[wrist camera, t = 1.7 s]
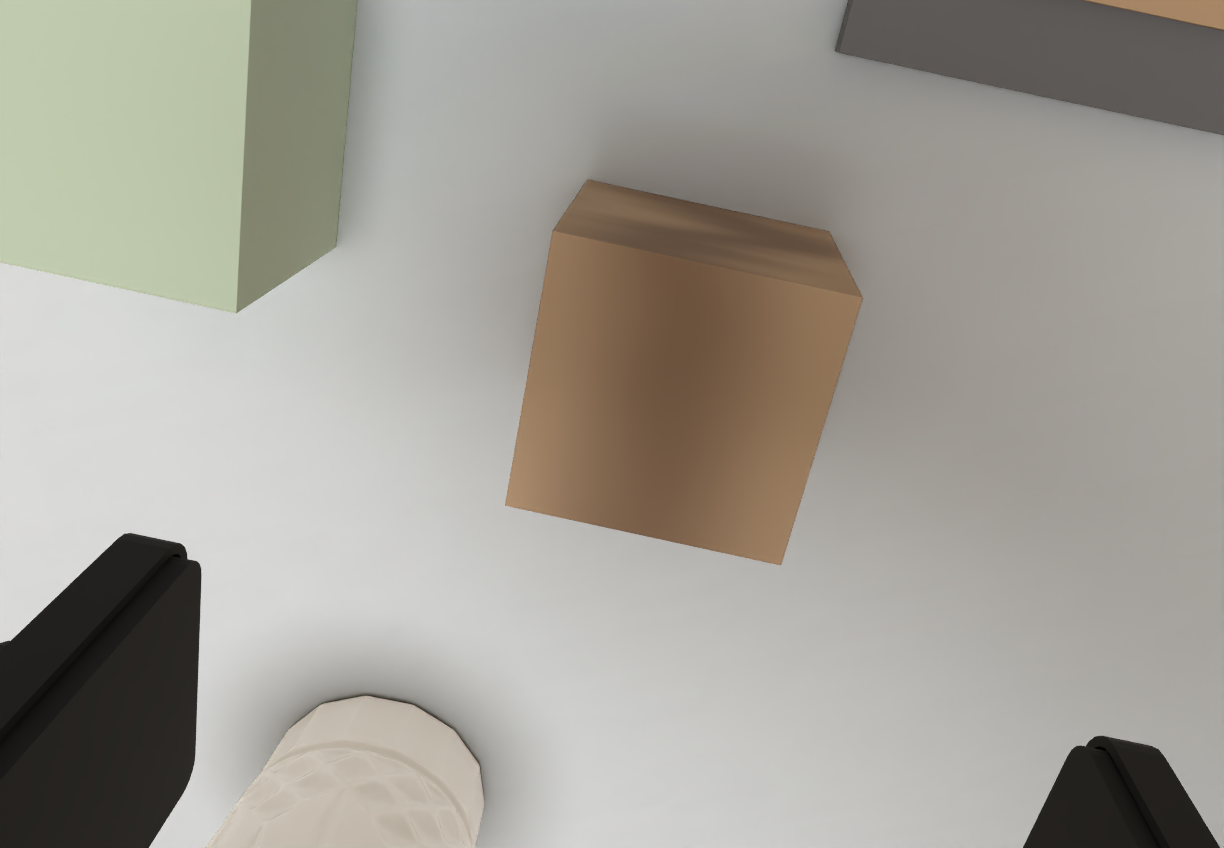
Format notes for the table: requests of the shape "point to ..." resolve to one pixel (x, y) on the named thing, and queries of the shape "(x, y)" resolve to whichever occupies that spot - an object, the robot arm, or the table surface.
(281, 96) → the sage cube
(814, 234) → the walnut cube
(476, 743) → the table surface
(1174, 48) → the tile
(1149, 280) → the table surface
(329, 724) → the white cup
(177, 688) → the robot arm
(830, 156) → the table surface
